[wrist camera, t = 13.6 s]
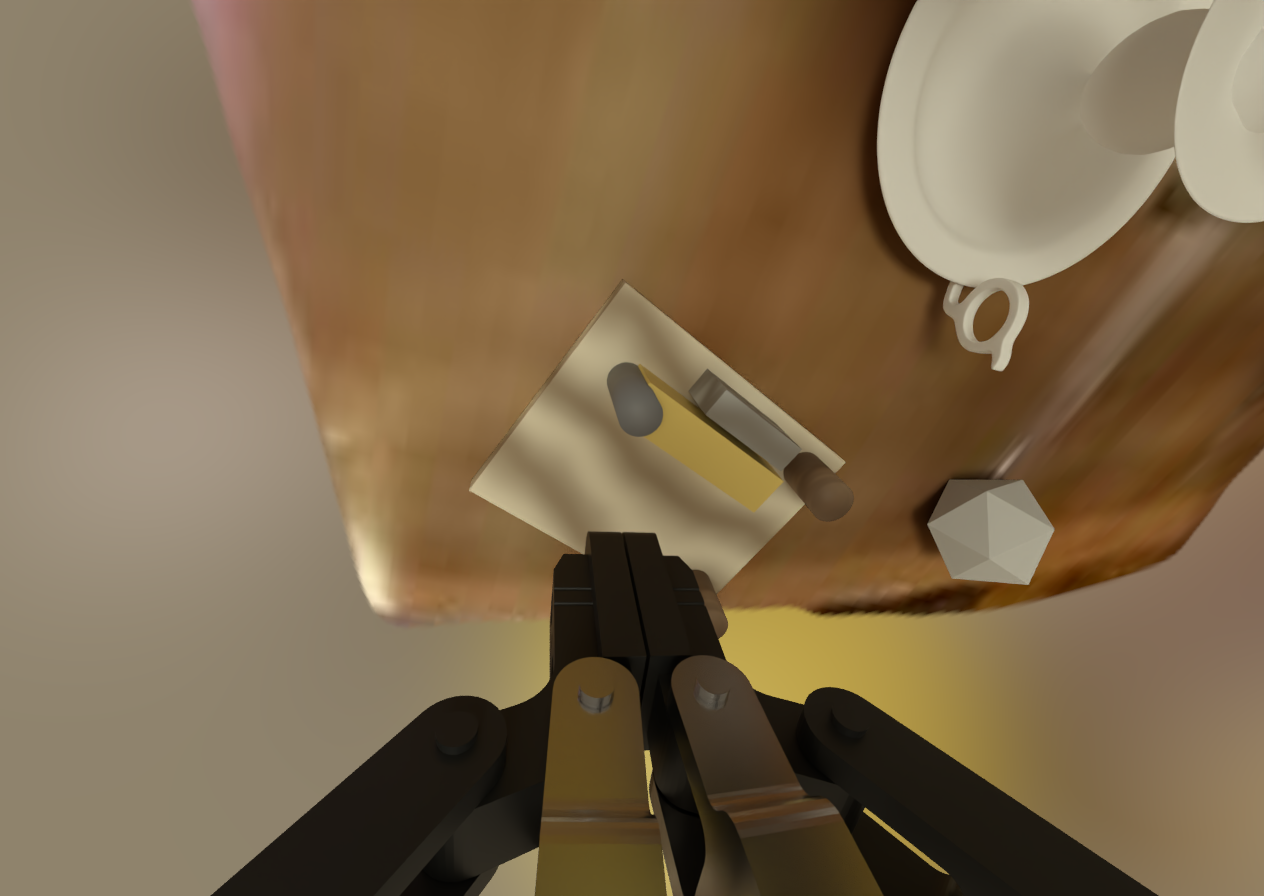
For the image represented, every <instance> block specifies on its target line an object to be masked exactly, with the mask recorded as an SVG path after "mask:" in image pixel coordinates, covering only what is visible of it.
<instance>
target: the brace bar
mask: <svg viewBox="0 0 1264 896" xmlns="http://www.w3.org/2000/svg"><path fill="white" fill-rule="evenodd" d="M607 386H608V390H609V393H610V396H611V399H612V402H613V406H614V409H615V412H616V415H617V418H618V421H619V424H620V426H621V428H622V429H623V430H624V431H625V432H626V433H627V434H629V435H631V436H635V437H645V438H646V439H648V440H649V441H651V442H652V443H653V444H655V445H656V446H658V447H659V448H661V449H662V450H664V451H665V452H667V453H668V454H669V455H671V456H672V457H674V458H675V459H677V460H678V461H680V462H681V463H682V464H684V465H685V466H687V467H688V468H690V469H691V470H693V471H694V472H696V473H697V474H698V475H700V476H701V477H703V478H704V479H706V480H707V481H709V482H710V483H712V484H713V485H714V486H716V487H717V488H719V489H720V490H722V491H723V492H725V493H726V494H727V495H729V496H730V497H732V498H733V499H735V500H736V501H738V502H739V503H741V504H742V505H743V506H745V507H746V508H748V509H749V510H751V511H752V512H755V511H756V510H757V509H758V508H759V507H760V506H761V505H762V504H763V503H764V502H765V501H766V500H767V499H768V498H769V497H770V495H771V494H772V493H773V492H774V491H775V490H776V489H777V488H778V487H779V486H780V485H781V484H782V483H783V482H784V481H783V480H782V479H781V477H780V476H779V475H778V474H777V473H776V471H775V470H774V469H773V468H772V467H771V465H770V464H769V463H768V462H767V461H766V460H765V459H764V458H762V457H761V456H760V455H758V454H757V453H756V452H754V451H753V450H752V449H750V448H749V447H748V446H746V445H745V444H744V443H742V442H741V441H740V440H738V439H737V438H736V437H734V436H733V435H732V434H730V433H729V432H728V431H726V430H725V429H724V428H722V427H721V426H720V425H718V424H717V423H716V422H714V421H713V420H712V419H710V418H709V417H708V416H706V415H705V413H704V412H703V411H702V410H701V409H700V408H698V407H697V406H696V405H694V404H693V403H692V402H690V401H689V400H688V399H686V398H685V397H684V396H682V395H681V394H680V393H678V392H677V391H676V390H674V389H673V388H672V387H670V386H669V385H668V384H666V383H665V382H664V381H662V380H661V379H660V378H658V377H657V376H656V375H654V374H653V373H652V372H650V371H649V370H648V369H646V368H645V367H644V366H642V365H641V364H639V365H638V366H637V365H636V364H634V363H630V362H624V363H620V364H618V365H616V366H614V367H613V368H612V369H611V371H610V372H609V374H608V377H607Z"/></svg>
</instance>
